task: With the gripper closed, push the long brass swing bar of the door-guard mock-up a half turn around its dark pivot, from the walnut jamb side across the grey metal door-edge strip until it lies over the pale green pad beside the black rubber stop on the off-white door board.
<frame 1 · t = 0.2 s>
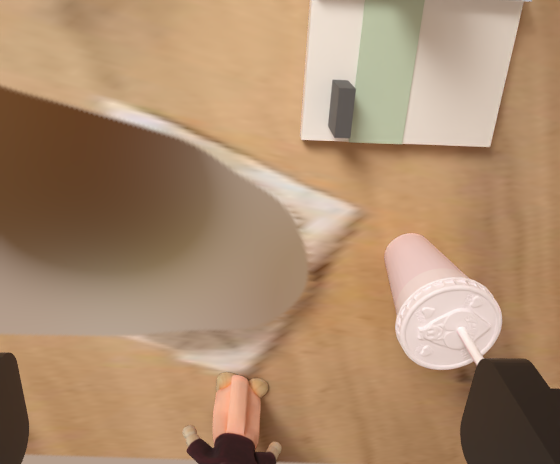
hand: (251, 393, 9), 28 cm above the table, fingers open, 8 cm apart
smoothie: (407, 253, 41), on the table
grandmother figurine: (235, 383, 46), on the table
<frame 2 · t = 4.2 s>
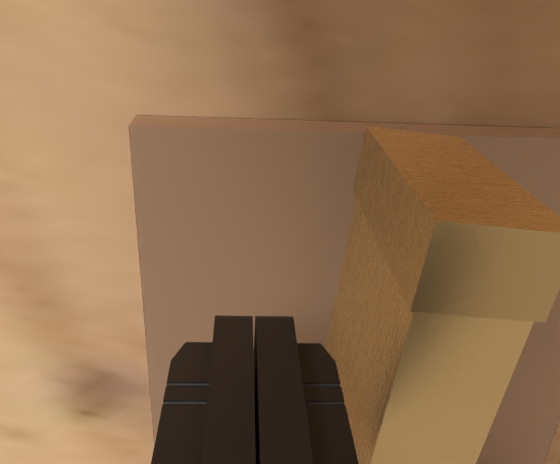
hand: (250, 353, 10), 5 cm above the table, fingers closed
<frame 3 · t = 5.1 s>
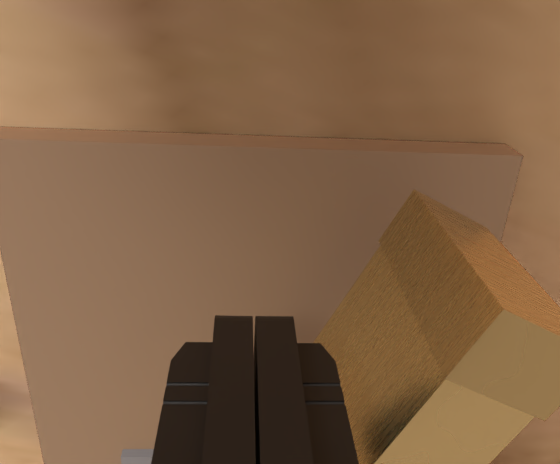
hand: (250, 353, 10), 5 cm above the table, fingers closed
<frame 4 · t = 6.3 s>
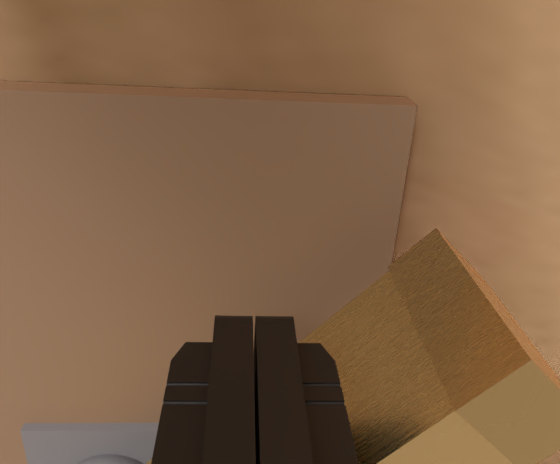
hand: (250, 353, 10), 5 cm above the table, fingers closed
door mockup: (121, 454, 18), on the table
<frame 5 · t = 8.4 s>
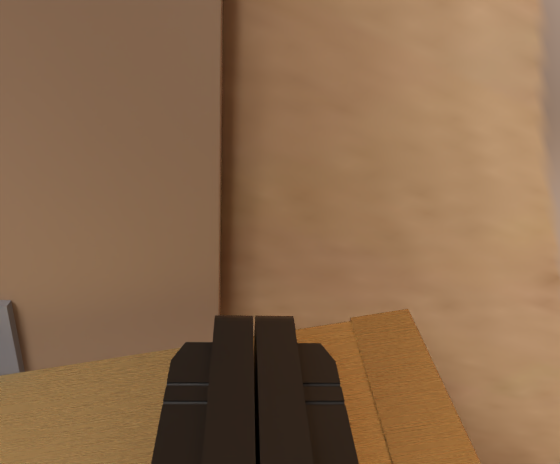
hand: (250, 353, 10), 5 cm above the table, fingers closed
swing bar: (93, 456, 12), point 5 cm above the table, hinge at 78.3°
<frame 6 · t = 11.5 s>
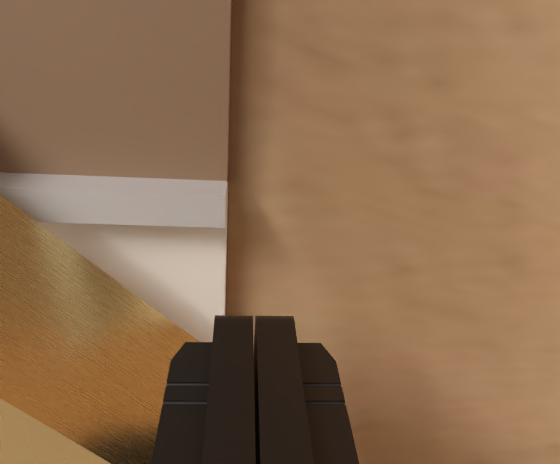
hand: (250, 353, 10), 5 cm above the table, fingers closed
swing bar: (14, 335, 10), point 5 cm above the table, hinge at 131.9°, touching gripper
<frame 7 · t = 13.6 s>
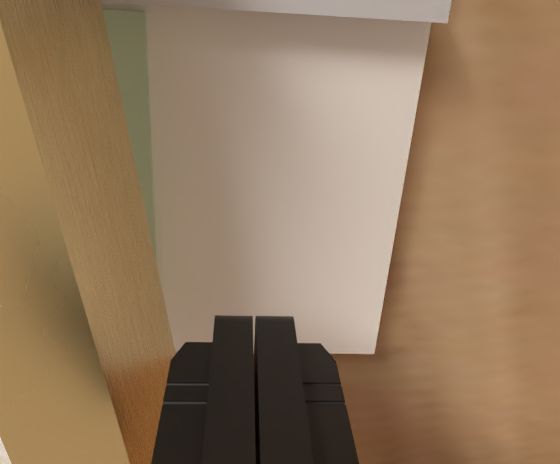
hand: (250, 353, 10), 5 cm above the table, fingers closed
swing bar: (53, 192, 9), point 5 cm above the table, hinge at 171.7°, touching gripper
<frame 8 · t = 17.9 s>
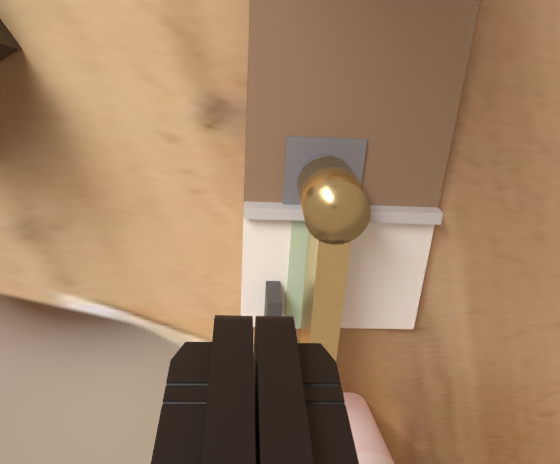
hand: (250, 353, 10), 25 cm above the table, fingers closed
smoothie: (345, 407, 45), on the table
swing bar: (323, 282, 33), point 5 cm above the table, hinge at 179.6°
door mockup: (321, 169, 35), on the table
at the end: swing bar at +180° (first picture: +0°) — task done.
